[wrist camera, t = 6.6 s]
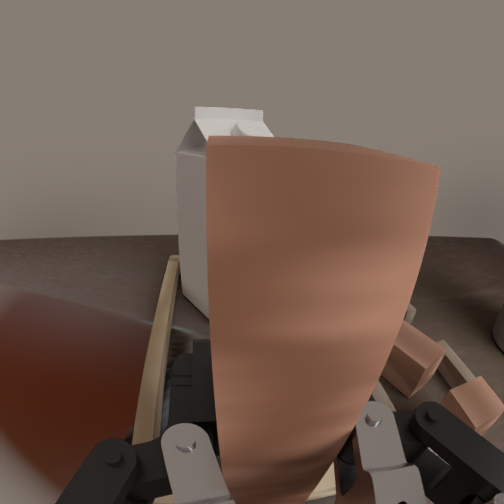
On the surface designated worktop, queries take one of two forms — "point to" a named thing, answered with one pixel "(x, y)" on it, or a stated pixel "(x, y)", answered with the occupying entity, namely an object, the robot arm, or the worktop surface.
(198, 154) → the milk carton
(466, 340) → the worktop surface
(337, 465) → the robot arm
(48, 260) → the worktop surface
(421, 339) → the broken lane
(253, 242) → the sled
